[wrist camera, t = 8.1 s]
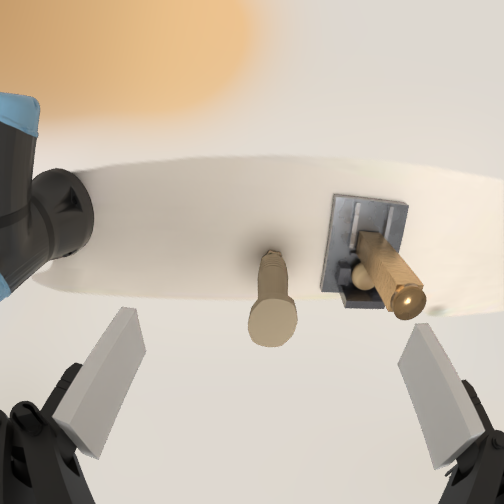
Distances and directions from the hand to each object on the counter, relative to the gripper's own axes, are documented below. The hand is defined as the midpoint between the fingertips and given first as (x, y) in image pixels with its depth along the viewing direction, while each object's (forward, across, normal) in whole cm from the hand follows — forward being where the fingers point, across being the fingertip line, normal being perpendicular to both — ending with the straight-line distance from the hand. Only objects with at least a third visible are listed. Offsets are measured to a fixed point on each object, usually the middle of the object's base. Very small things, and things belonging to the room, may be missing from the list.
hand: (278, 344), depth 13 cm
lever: (+27, +14, -5) cm, 31 cm away
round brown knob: (+27, +14, -10) cm, 32 cm away
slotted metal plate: (+29, +14, -7) cm, 32 cm away
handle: (+29, 0, -10) cm, 30 cm away
